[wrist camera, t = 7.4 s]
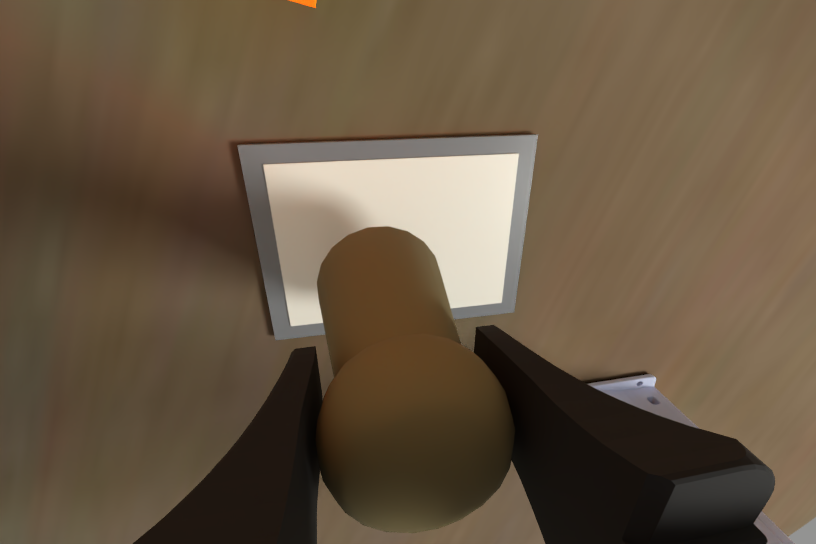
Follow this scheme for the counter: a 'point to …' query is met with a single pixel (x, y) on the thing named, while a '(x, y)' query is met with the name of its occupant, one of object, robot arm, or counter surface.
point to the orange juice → (306, 2)
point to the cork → (404, 391)
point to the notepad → (390, 214)
